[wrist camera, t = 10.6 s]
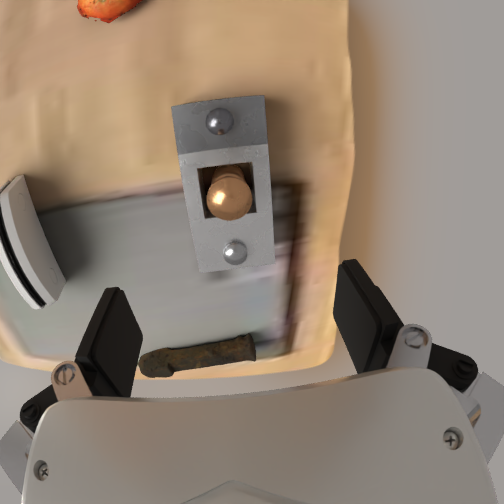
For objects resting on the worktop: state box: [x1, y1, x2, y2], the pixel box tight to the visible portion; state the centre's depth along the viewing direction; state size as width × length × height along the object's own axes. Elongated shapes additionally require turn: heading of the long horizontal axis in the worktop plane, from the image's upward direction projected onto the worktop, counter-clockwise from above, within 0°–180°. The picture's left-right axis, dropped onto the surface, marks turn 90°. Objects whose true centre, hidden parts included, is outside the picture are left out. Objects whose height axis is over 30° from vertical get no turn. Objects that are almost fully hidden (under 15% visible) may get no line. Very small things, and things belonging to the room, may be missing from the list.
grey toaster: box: [0, 175, 66, 309], centre depth 26 cm, size 17×5×10 cm, turn 8°
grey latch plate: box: [171, 95, 275, 273], centre depth 27 cm, size 17×8×5 cm, turn 5°
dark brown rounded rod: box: [139, 333, 256, 378], centre depth 39 cm, size 19×4×5 cm, turn 99°
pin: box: [207, 164, 252, 221], centre depth 26 cm, size 4×4×7 cm
